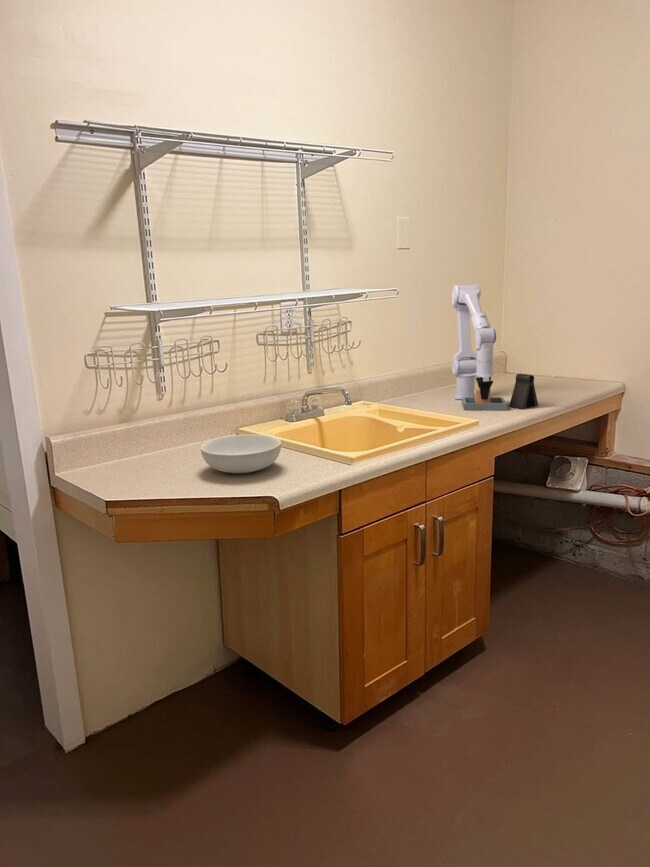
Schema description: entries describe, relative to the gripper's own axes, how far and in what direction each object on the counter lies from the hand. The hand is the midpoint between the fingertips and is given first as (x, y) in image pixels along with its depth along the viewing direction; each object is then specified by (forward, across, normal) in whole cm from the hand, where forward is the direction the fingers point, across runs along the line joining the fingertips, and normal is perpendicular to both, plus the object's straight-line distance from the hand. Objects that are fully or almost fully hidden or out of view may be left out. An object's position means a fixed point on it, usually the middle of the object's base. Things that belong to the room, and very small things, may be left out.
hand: (483, 397), depth 242 cm
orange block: (+2, 0, 0) cm, 2 cm away
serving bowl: (+4, +84, -70) cm, 109 cm away
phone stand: (+4, 0, +14) cm, 15 cm away
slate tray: (+3, 0, 0) cm, 3 cm away
